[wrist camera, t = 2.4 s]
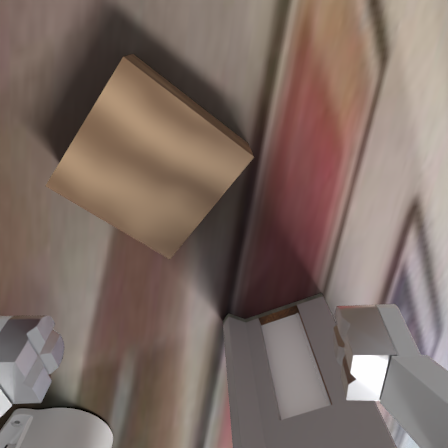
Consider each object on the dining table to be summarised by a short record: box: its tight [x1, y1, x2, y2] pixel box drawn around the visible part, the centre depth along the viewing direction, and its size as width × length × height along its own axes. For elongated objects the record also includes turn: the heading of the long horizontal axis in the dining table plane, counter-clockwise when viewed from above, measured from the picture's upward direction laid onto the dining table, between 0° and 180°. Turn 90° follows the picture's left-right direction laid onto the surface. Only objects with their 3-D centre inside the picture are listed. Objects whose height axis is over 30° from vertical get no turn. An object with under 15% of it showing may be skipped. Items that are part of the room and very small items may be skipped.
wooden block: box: [46, 54, 254, 259], centre depth 37 cm, size 14×14×5 cm
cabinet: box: [223, 293, 397, 448], centre depth 38 cm, size 21×10×28 cm, turn 64°
